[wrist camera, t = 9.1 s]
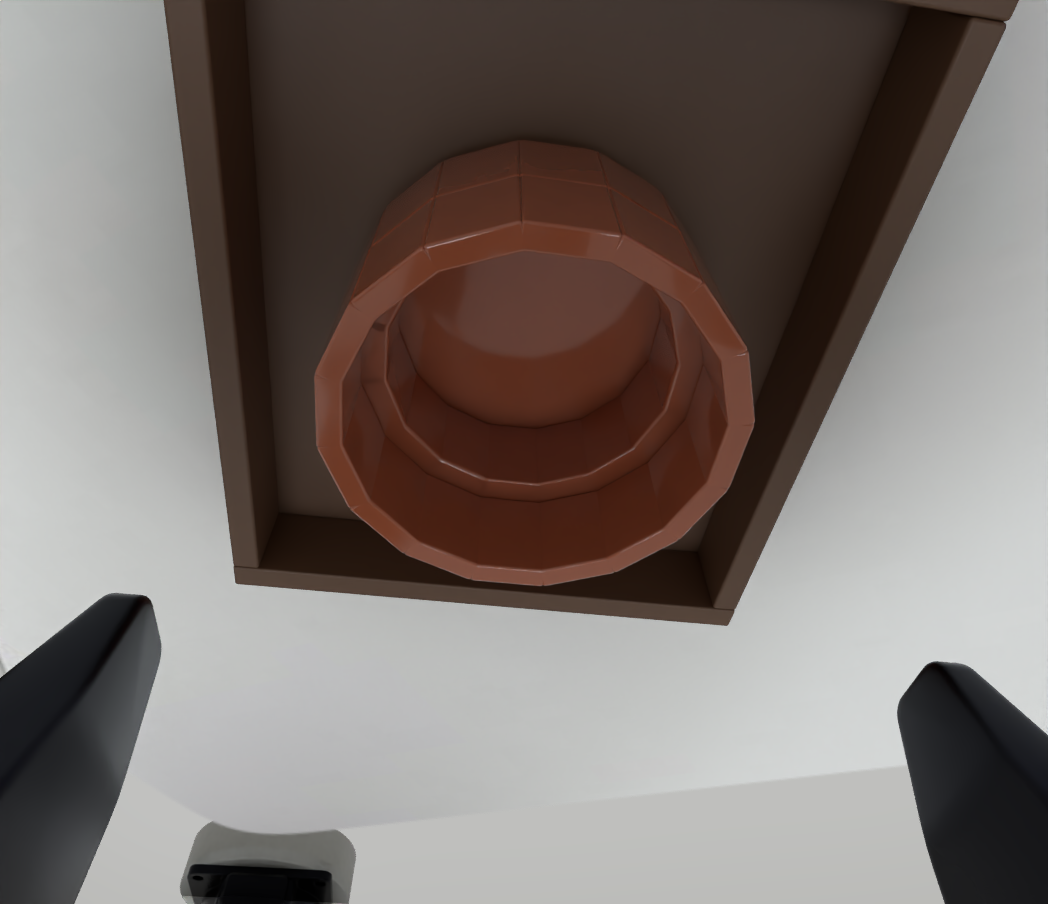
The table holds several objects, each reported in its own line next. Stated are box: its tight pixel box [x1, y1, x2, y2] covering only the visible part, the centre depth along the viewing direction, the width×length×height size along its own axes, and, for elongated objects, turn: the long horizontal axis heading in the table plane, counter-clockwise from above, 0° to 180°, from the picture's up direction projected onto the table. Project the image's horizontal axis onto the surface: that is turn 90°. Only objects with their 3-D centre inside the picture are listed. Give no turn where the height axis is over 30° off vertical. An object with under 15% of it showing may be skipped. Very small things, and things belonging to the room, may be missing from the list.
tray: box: [164, 0, 1019, 626], centre depth 15 cm, size 14×12×2 cm
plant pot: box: [314, 140, 755, 586], centre depth 14 cm, size 7×7×4 cm
